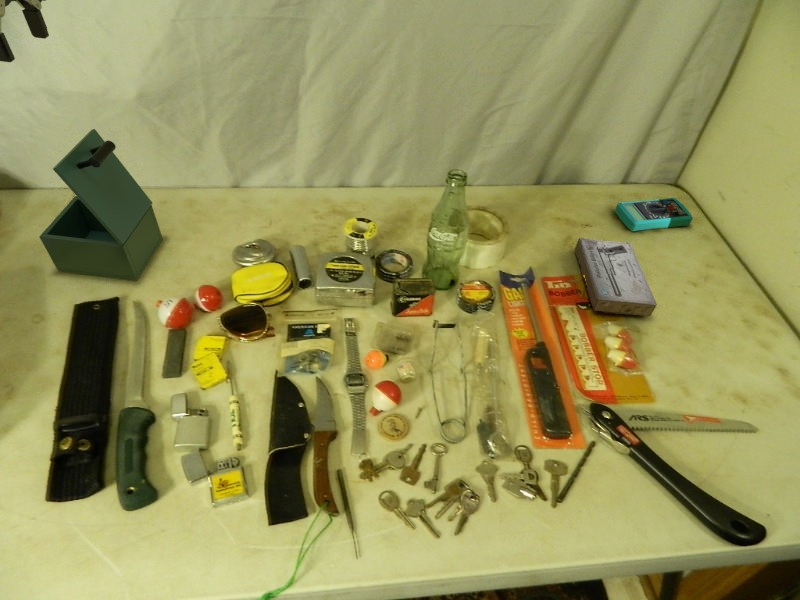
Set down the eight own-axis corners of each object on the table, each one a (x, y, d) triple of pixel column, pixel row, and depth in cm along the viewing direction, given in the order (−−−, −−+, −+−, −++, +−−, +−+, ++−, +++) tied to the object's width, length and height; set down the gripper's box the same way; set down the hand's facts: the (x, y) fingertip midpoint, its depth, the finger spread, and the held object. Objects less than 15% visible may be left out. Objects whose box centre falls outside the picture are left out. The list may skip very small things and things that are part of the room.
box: (591, 312, 92) (598, 299, 89) (572, 248, 104) (578, 236, 102) (651, 318, 92) (659, 306, 90) (626, 254, 104) (632, 242, 102)
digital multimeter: (691, 226, 112) (697, 215, 110) (629, 233, 109) (635, 222, 107) (671, 206, 117) (677, 195, 115) (611, 211, 114) (617, 200, 112)
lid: (52, 168, 74) (77, 161, 73) (91, 129, 82) (115, 122, 81) (120, 245, 84) (143, 239, 83) (149, 203, 92) (171, 197, 90)
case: (58, 271, 90) (38, 236, 84) (90, 230, 98) (74, 196, 92) (136, 281, 90) (122, 246, 84) (163, 239, 98) (151, 205, 92)
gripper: (-27, -104, 69) (27, 27, 81) (-109, -79, 59) (-34, 66, 71) (30, -97, 69) (76, 33, 81) (-44, -72, 59) (21, 72, 71)
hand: (24, 48), depth 76 cm, fingers open, 8 cm apart
